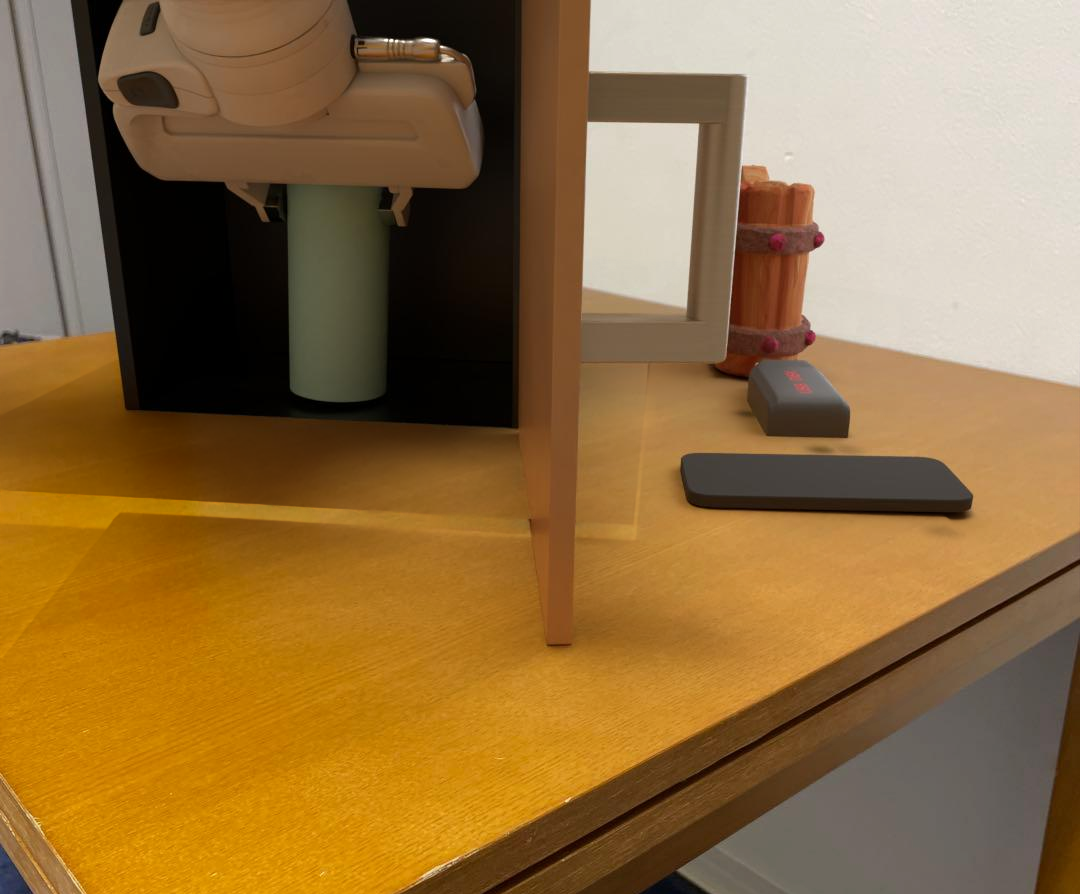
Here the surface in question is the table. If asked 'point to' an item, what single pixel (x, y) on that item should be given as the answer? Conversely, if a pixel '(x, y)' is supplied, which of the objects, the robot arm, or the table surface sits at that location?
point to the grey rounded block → (796, 400)
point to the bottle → (337, 292)
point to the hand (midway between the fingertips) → (336, 215)
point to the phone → (822, 482)
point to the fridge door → (558, 248)
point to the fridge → (262, 257)
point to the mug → (770, 272)
